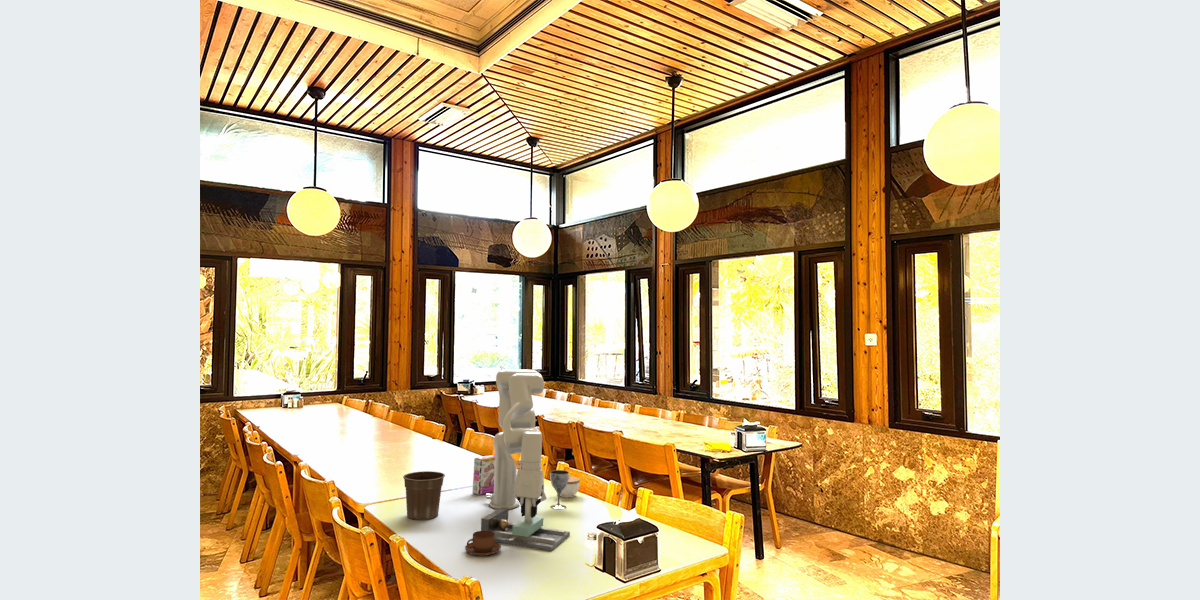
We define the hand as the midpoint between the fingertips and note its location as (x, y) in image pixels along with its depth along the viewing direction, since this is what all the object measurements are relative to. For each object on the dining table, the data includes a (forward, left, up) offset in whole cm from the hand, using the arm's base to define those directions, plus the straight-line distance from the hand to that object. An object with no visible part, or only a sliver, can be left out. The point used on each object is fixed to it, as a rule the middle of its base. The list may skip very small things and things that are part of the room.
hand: (528, 515), depth 228 cm
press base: (-1, 0, -8) cm, 8 cm away
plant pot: (-50, +8, -8) cm, 51 cm away
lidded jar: (-8, +62, -9) cm, 63 cm away
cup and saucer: (-8, -19, -9) cm, 22 cm away
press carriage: (0, 0, -5) cm, 5 cm away
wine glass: (-5, +43, -8) cm, 44 cm away
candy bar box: (-45, +51, -8) cm, 69 cm away
